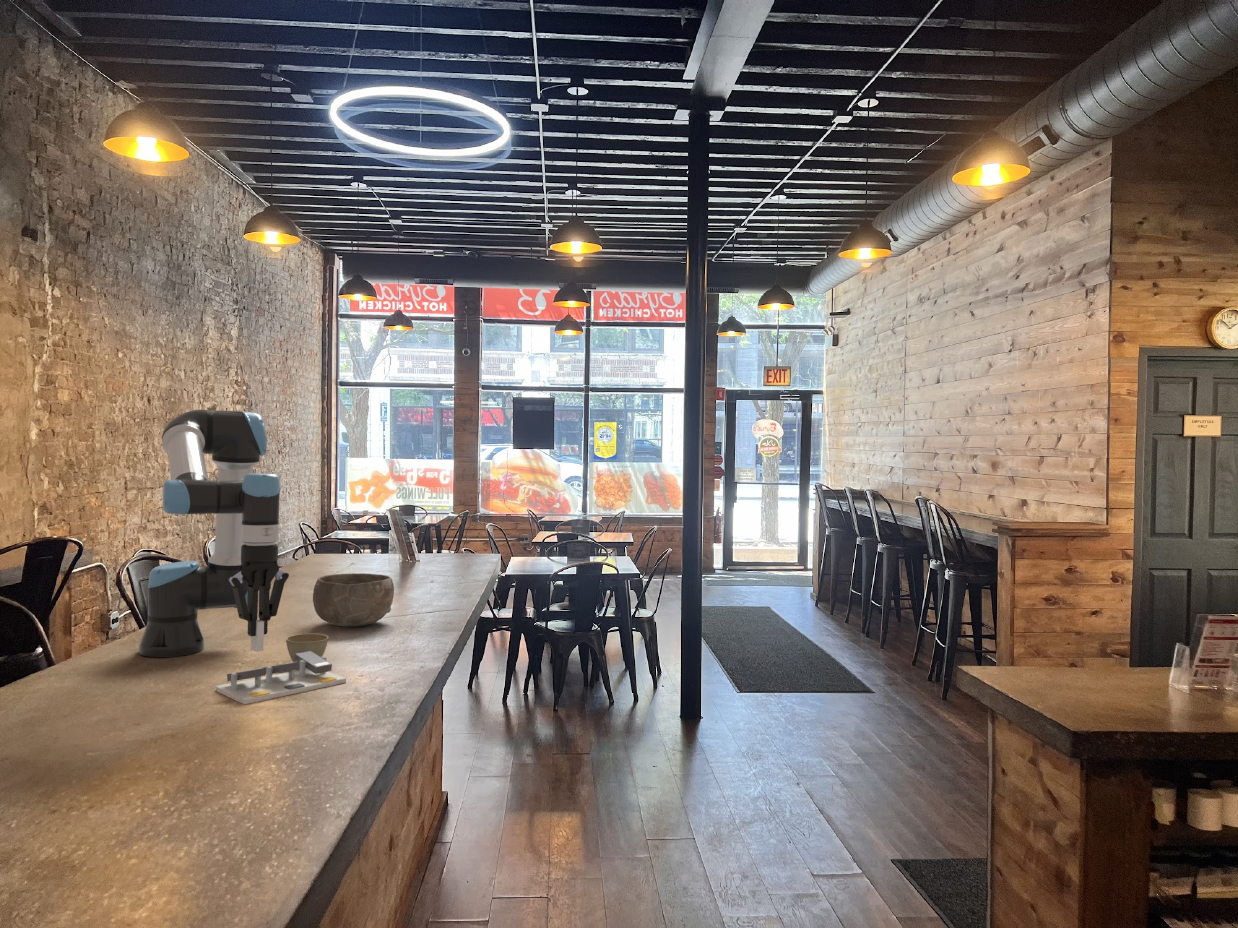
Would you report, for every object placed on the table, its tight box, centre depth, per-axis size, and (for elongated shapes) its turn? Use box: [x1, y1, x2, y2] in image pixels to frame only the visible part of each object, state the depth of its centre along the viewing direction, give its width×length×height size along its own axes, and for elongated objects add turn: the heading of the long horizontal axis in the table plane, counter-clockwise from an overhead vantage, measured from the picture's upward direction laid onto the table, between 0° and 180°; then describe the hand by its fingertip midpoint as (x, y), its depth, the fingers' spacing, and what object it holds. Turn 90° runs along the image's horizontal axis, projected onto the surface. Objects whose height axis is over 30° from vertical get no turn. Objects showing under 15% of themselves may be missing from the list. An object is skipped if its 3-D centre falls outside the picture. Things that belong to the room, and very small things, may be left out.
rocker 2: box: [263, 661, 300, 674], centre depth 186 cm, size 10×4×2 cm, turn 50°
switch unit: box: [215, 655, 347, 705], centre depth 185 cm, size 14×24×5 cm, turn 140°
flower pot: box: [285, 633, 329, 669], centre depth 203 cm, size 10×10×7 cm
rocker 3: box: [295, 651, 333, 674], centre depth 192 cm, size 10×4×2 cm, turn 50°
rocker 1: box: [226, 667, 266, 682], centre depth 180 cm, size 10×4×2 cm, turn 50°
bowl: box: [312, 572, 395, 627], centre depth 251 cm, size 24×24×15 cm
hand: (257, 649), depth 177 cm, fingers closed
